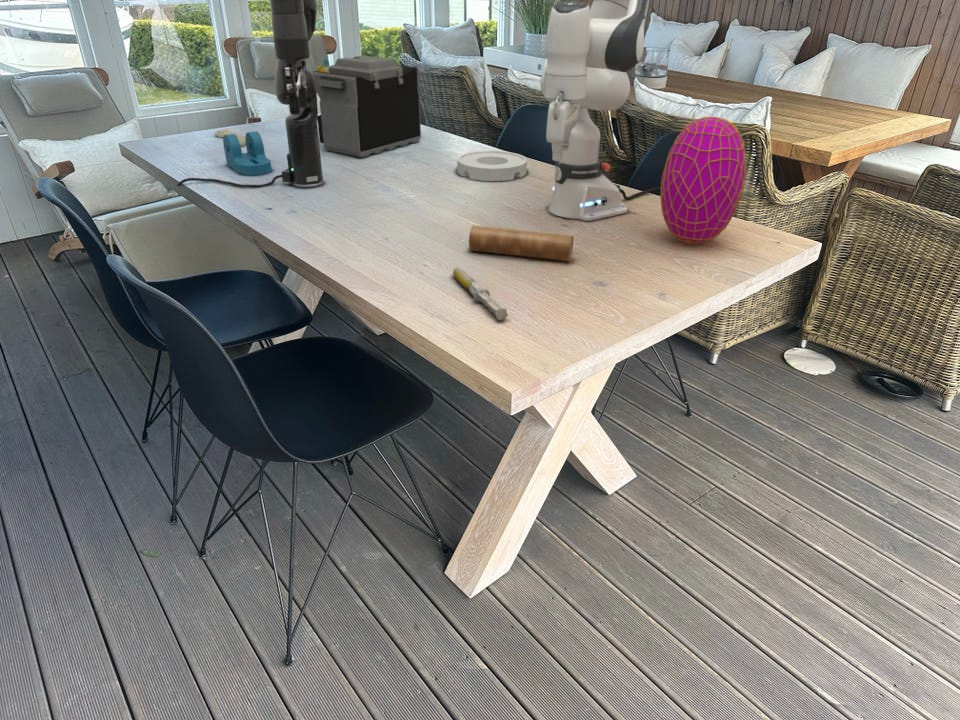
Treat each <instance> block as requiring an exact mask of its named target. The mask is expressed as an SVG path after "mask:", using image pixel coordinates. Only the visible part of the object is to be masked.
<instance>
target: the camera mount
mask: <svg viewBox="0 0 960 720" xmlns="http://www.w3.org/2000/svg"><path fill="white" fill-rule="evenodd" d="M245 136H246V137H245V139H246V144H245V146H246V152H243V151H242V150H243V149H242V146H240V142H239V140H238V138H237V136H236V135H235V134H230V135H224V137H222V140H223V141H222V143H223V149H224V150H223V151H224V156H225V161H226V165H227V166H228V167H230V168H231V169H232V170H234V171H236V172H237V173H238V174H239V175H244V176H260V175H265V174H268V173H271V172H272V164H271V159H270V158H268V157H267V156H266V153H265V145H264V141H263V139H262V136H261V134H260V132H258V131H247V132H246V133H245Z"/></svg>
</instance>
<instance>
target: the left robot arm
mask: <svg viewBox="0 0 960 720" xmlns="http://www.w3.org/2000/svg"><path fill="white" fill-rule="evenodd" d="M317 2H318V1H317V0H269V4H270V5H269V6H270V13H271V29H272V36H273V45H274V52H275V57H276V60H277V61H276V67H275V74H274V92H275V93H274V94H275V96H276V99H277V101H278V102H279V103H280V104H282V105H285V106H288V107H289V113H290V114H289V115H287V116H286V117H285V120H284V123H285V131H286V138H287V146H288V153H287V154H286V161H287V168H286V169H284V170H282V171H281V174H278V175H275V176H274V177H273V178H272V180H271V181H269V182H267V183H262V184H241V183H236V182H231V181H226V180H222V179H217V178H201V177H187V178H183V179H182V180H180V181H179V182H178V183H177V184H176V186H177V187H180V186H182V185H183V184H185V183H186V182H191V181H192V182H193V181H196V182H215V183H220V184H224V185H229V186H233V187H239V188H262V187H269V186H271V185H273V184H274V183H275V182H276V181H277V179H280V178H281V179H282V183H289V184H290V186H294V187H296V188H300V189H301V188H303V189H310V188H317V187H320V186H322V185H324V184H325V182H324V175H323V167H322V157H321V147H320V139H319V130H318V120H317V119H318V116H319V112H318V94H317V91H316V83H315V80H314V77H313V75H312V73H311V72H312V71H311V70H309V69H307V61H306V60H307V59H309V58H310V56H311V54H310V46H309V42H310V40H311V39H312V37H313V35H314V33H315V30H316V26H317V15H318V14H317V13H318V3H317Z"/></svg>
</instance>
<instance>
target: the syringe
mask: <svg viewBox="0 0 960 720" xmlns="http://www.w3.org/2000/svg"><path fill="white" fill-rule="evenodd" d="M452 274H453V277H454V279H455V280H457V281H458V282H459V283H460V285H462V287H464V289H466V290H467V291H468V293H470V295H471V296H472V298H473V300H474V302H477V303H478V302H480V303H482V304H483V305H484V306H485V307H486V308H487V309H488V310H489V311H490V312H491V313H492V314H493V315H494V316H495V317H496V320H497V321H503V320H504V319H506V318H507V317H509V314H508V310H507V308H506V307H502V306H501V305H500V303H498V302H497V301H496V300H494V299H493V298H492V297H491V296H490V295H491V293H490V290H488V289H486V288H483V287H482V286H481V285H480V284H479V283H478V282H477V281H476V280H474V278H473V277H471V275H469V274H468V273H467V272H466V270H465V269H464V268H463V267H462V266H456V267H454V268H453V271H452Z"/></svg>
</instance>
